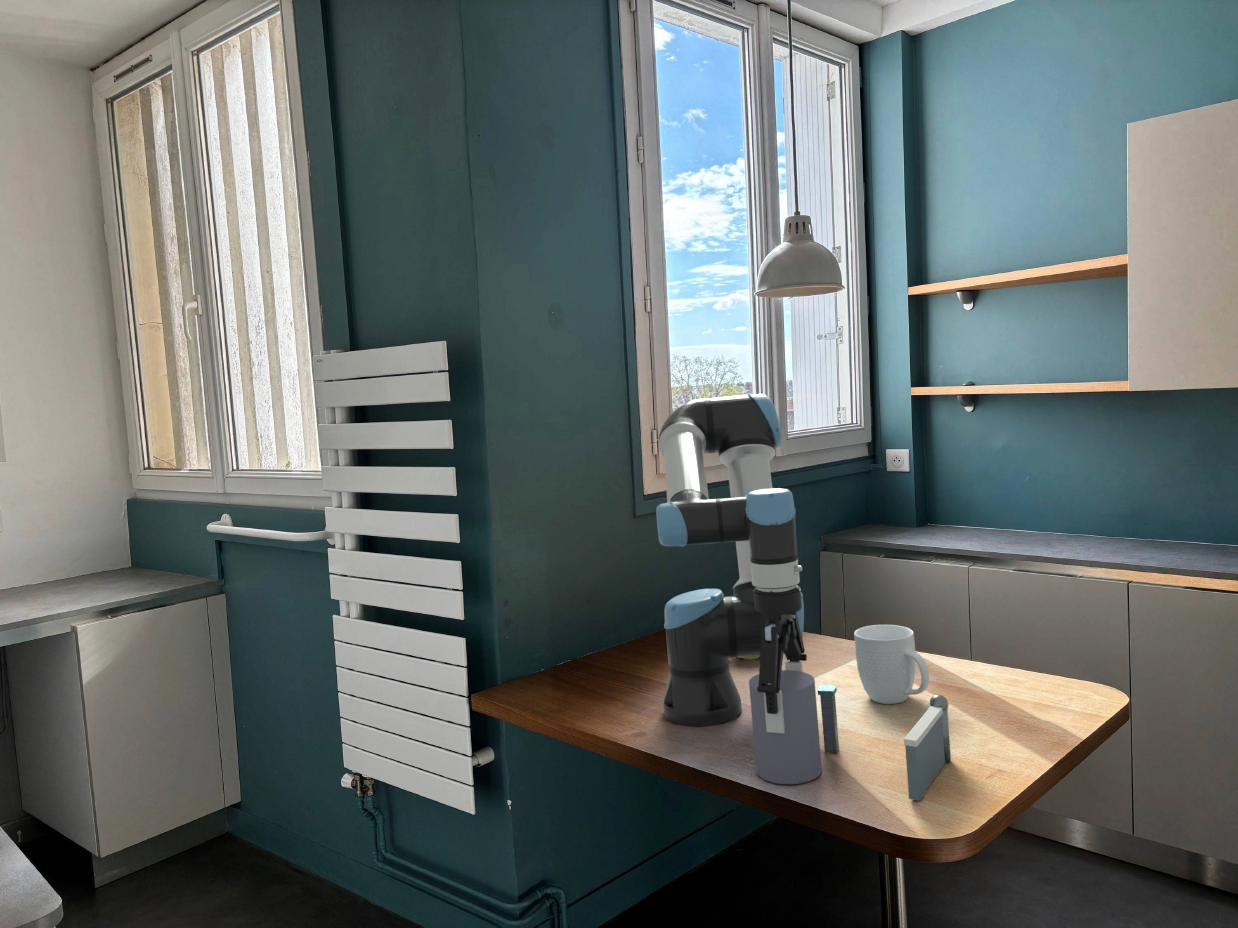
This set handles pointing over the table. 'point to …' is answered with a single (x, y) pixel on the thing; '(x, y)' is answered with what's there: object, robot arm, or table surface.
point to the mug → (888, 663)
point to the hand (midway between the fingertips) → (786, 715)
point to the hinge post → (943, 703)
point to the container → (788, 732)
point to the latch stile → (829, 718)
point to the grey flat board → (924, 752)
